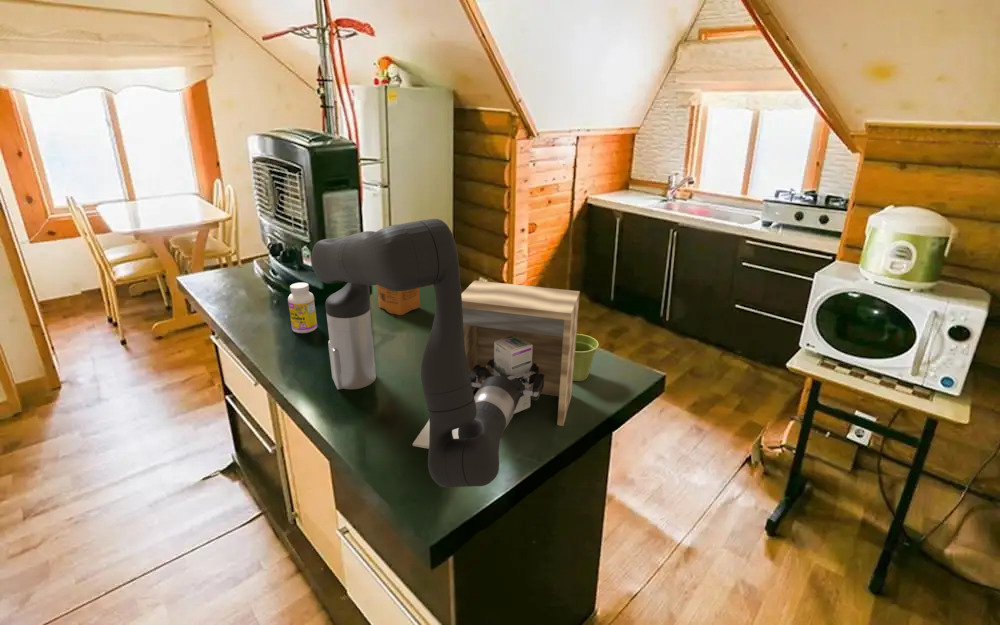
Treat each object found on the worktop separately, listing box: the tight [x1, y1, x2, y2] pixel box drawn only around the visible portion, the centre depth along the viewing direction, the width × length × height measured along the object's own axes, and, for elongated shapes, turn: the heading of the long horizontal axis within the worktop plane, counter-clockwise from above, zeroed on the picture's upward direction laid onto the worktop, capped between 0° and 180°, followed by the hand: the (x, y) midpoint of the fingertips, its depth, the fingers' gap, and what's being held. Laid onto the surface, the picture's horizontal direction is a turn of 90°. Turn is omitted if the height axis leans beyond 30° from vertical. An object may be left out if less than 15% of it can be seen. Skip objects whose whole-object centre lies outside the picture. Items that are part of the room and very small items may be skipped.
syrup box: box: [494, 335, 533, 414], centre depth 108 cm, size 6×6×14 cm
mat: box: [412, 420, 459, 450], centre depth 104 cm, size 10×10×1 cm
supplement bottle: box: [287, 282, 318, 334], centre depth 146 cm, size 7×7×13 cm
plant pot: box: [573, 333, 600, 382], centre depth 125 cm, size 9×9×9 cm
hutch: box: [461, 280, 581, 427], centre depth 111 cm, size 12×22×24 cm, turn 75°
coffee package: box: [376, 285, 421, 316], centre depth 159 cm, size 10×12×22 cm
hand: (514, 364), depth 109 cm, fingers closed on syrup box, 7 cm apart
